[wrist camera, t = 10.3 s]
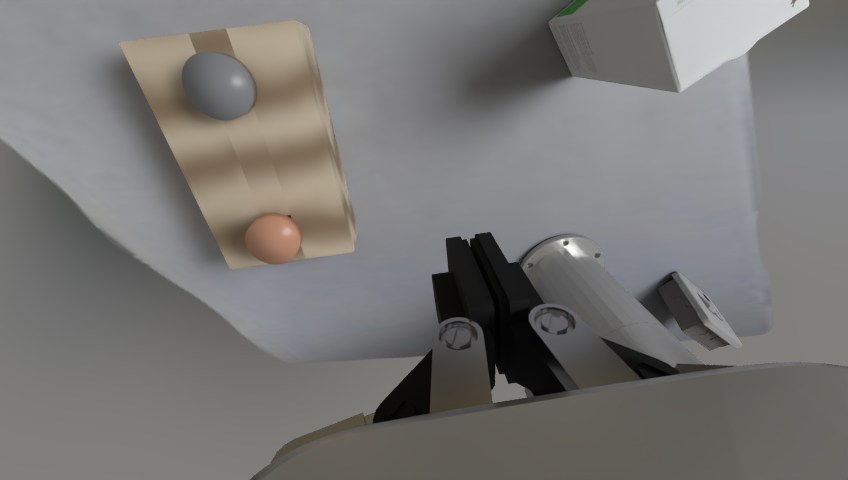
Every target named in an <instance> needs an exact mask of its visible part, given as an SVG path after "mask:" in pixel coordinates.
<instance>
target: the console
mask: <svg viewBox="0 0 848 480" xmlns="http://www.w3.org/2000/svg"><path fill="white" fill-rule="evenodd" d="M119 44H120V46H121V48H122V50H123V52H124V54H125V56H126V58H127V60H128V63H129V65H130V67H131V69H132V71H133V73H134V75H135V77H136V79H137V81H138V83H139V85H140V87H141V89H142V91H143V93H144V95H145V97H146V99H147V101H148V103H149V105H150V107H151V109H152V111H153V113H154V115H155V118H156V120H157V122H158V124H159V126H160V128H161V130H162V132H163V134H164V136H165V138H166V140H167V142H168V144H169V146H170V148H171V150H172V152H173V154H174V156H175V158H176V160H177V162H178V164H179V166H180V168H181V171H182V173H183V175H184V177H185V179H186V181H187V183H188V185H189V187H190V189H191V191H192V193H193V195H194V197H195V199H196V201H197V203H198V205H199V207H200V209H201V211H202V213H203V215H204V217H205V219H206V221H207V223H208V226H209V228H210V230H211V232H212V234H213V236H214V238H215V240H216V242H217V244H218V246H219V248H220V250H221V252H222V254H223V256H224V258H225V260H226V262H227V264H228V266H229V268H230V270H232V269H239V268H246V267H253V266H260V265H266V264H268V263H265V262H262V261H260V260H258V259H257V258H255V257H254V256H253V255H252V254H251V253H250V252H249V250H248V249H247V247H246V244H245V234H246V231H247V230H248V228H249V227H250V226H251V225H252V223H253V222H254V221H255V220H256V219H257V218H258V217H259V216H261V215H263V214H266V213H280V214H284V215H291V218H292V219H293V220H294V221H295V222H296V223H297V224H298V226H299V227H300V229H301V231H302V243H301V245H300V247H299V249H298V251H297V253H296V255H295V256H294V258H293V259H292V260H290V261H294V260H301V259H308V258H315V257H322V256H329V255H336V254H342V253H349V252H354V249H355V244H356V239H357V233H358V230H357V226H356V222H355V218H354V214H353V210H352V206H351V201H350V197H349V193H348V189H347V185H346V181H345V177H344V172H343V168H342V164H341V160H340V156H339V152H338V148H337V143H336V139H335V135H334V131H333V127H332V123H331V119H330V114H329V110H328V106H327V102H326V98H325V94H324V90H323V86H322V81H321V77H320V73H319V69H318V65H317V61H316V57H315V52H314V48H313V44H312V40H311V36H310V32H309V28H308V26H306V25H304V24H302V23H300V22H297V21H295V20H293V21H285V22H277V23H269V24H261V25H253V26H245V27H237V28H229V29H221V30H213V31H205V32H198V33H190V34H182V35H174V36H166V37H158V38H150V39H142V40H134V41H126V42H119ZM200 52H218V53H225V54H228V55H231V56H233V57H235V58H236V59H238V60H239V61H241V62H242V63H243V64H244V65H245V66H246V67H247V68H248V70H249V71H250V72H251V74H252V76H253V78H254V80H255V83H256V86H257V100H256V103H255V106H254V107H253V109H252V110H251V111H250V112H249V113H247V114H246V115H243V116H241V117H238V118H235V119H232V120H217V119H214V118H211V117H209V116H207V115H205V114H203V113H202V112H201V111H199V110H198V109H197V108H196V107H195V106H194V105H193V104H192V103H191V101H190V100H189V98H188V97H187V95H186V93H185V91H184V88H183V84H182V69H183V66H184V64H185V62H186V61H187V60H188V59H189V58H190V57H191V56H193V55H194V54H197V53H200Z"/></svg>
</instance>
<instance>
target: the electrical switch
mask: <svg viewBox="0 0 848 480" xmlns="http://www.w3.org/2000/svg"><path fill="white" fill-rule="evenodd" d="M672 276H673V278H674V279H673V280H671V281H669V282H667V283H666V284H664V285H663V286H661V287H659V288H657V289H658V291H659V292H660V294H661V296H662V298H663V299H664V301H665V303H666V304H667V306H668V308H669V310H670V311H671V313H672V315H673V316H674V318H675V320H676V322H677V323H678V325H679V327H680V328H681V330H682V331H683V332H684V333H685V334H687V335H688V336H690V337H691V338H692V339H694V340H695V341H697V342H698V343H700V344H701V345H703V346H704V347H706V348H707V349H708V350H709V351H710V350H713V349H715V348H718V347H723V346H726V345H731V346H733V347H734V348H735V349H737V348H739V347H742V344H741V342H740V341H739V339H738V338H737V336H736V335H735V333H734V332H733V330H732V329H731V328H730V326H729V325H728V323H727V322H726V321H725V319H724V318H723V316H722V315H721V314H720V312H719V311H718V309H717V308H716V307H715V305H714V304H713V303H712V301H711V300H710V299H709V297H708V296H707V295H706V294H705V293H703V292H702V291H701V290H700V289H698V288H697V287H696V286H695V285H694V284H692V283H691V282H690V281H689V280H687V279H686V278H685V277H684V276H683V275H681V274H680V273H679V272H675V273H673V274H672ZM684 329H685V330H684ZM690 333H691V334H690Z"/></svg>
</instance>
